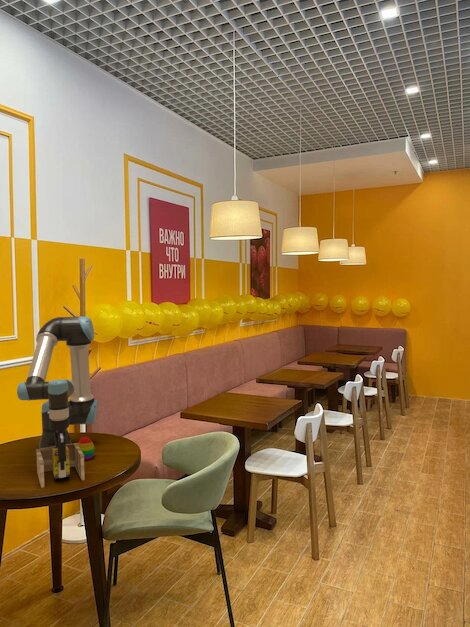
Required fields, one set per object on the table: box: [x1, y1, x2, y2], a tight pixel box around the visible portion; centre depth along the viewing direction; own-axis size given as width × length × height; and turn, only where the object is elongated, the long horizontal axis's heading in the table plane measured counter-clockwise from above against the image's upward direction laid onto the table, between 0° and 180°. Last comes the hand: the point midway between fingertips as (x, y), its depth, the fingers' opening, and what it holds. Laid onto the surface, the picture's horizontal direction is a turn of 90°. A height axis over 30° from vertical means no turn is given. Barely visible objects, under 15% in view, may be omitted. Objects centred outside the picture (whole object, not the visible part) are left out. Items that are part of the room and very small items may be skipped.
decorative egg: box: [76, 436, 95, 461], centre depth 221 cm, size 8×8×10 cm
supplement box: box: [52, 446, 71, 480], centre depth 196 cm, size 6×6×11 cm
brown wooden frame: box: [35, 442, 86, 489], centre depth 200 cm, size 19×17×10 cm
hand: (61, 474), depth 196 cm, fingers closed on supplement box, 6 cm apart
